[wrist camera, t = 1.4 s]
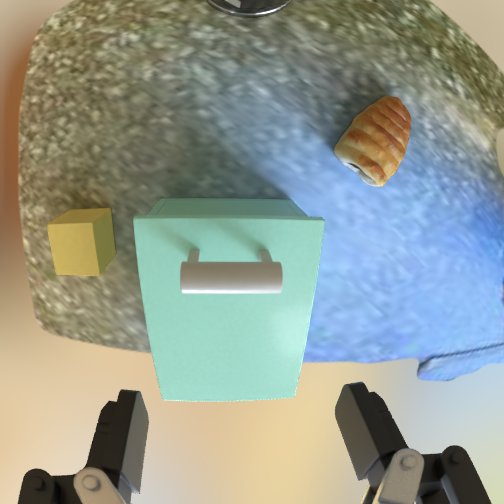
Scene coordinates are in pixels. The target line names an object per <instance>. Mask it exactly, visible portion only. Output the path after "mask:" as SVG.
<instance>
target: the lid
mask: <svg viewBox="0 0 504 504" xmlns="http://www.w3.org/2000/svg"><path fill="white" fill-rule="evenodd" d="M133 224H134V236H135V246H136V256H137V265H138V273H139V281H140V288H141V295H142V301H143V308H144V314H145V320H146V326H147V331H148V337H149V342H150V347H151V352H152V357H153V361H154V366H155V370H156V375H157V379H158V383H159V388H160V391H161V396H162V399H163V400H174V401H250V400H268V399H281V398H292V397H295V393H296V388H297V384H298V379H299V374H300V370H301V365H302V360H303V355H304V350H305V345H306V340H307V335H308V329H309V324H310V318H311V312H312V307H313V301H314V295H315V288H316V282H317V276H318V269H319V262H320V255H321V248H322V241H323V233H324V225H325V220H324V219H323V218H322V217H305V216H269V215H137V216H135V217H134V218H133Z"/></svg>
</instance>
